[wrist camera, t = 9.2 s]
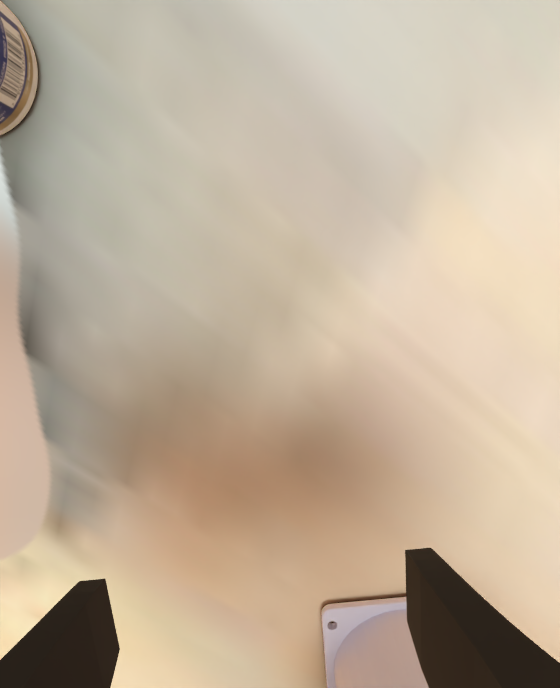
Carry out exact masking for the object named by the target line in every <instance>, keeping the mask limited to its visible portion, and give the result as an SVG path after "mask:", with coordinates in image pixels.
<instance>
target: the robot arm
mask: <svg viewBox="0 0 560 688" xmlns="http://www.w3.org/2000/svg"><path fill="white" fill-rule="evenodd" d="M405 556H406V597H398V598H387V599H377V600H366V601H356V602H345V603H335V604H328V605H326V606H324V607H323V609H322V611H321V616H322V630H323V643H324V656H325V670H326V683H327V688H560V663H559V662H558V661H556V660H555V659H554V658H552V657H551V656H550V655H549V654H547V653H546V652H545V651H544V650H543V649H541V648H540V647H539V646H538V645H536V644H535V643H534V642H533V641H532V640H530V639H529V638H528V637H527V636H526V635H524V634H523V633H522V632H521V631H520V630H519V629H517V628H516V627H515V626H514V625H513V624H512V623H510V622H509V621H508V620H507V619H506V618H505V617H504V616H503V615H501V614H500V613H499V612H498V611H497V610H496V609H495V608H494V607H493V606H491V605H490V604H489V603H488V602H487V601H486V600H485V599H484V598H483V597H482V596H481V595H479V594H478V593H477V592H476V591H475V590H474V589H473V588H472V587H471V586H470V585H469V584H468V583H467V582H466V581H465V580H464V579H463V578H462V577H460V576H459V575H458V574H457V573H456V572H455V571H454V570H453V569H452V568H451V567H450V566H449V565H448V564H447V563H446V562H445V561H444V560H443V559H442V558H441V557H440V556H439V555H438V554H437V553H436V552H435V551H434V550H433V549H431V548H423V549H413V550H405ZM331 621H334V623H329V622H331ZM119 650H120V648H119V643H118V639H117V634H116V629H115V624H114V619H113V614H112V609H111V604H110V600H109V595H108V590H107V585H106V580H105V579H98V580H88V581H80V582H78V583H77V584H76V585H75V586H74V587H73V588H72V589H71V590H70V591H69V592H68V593H67V594H66V595H65V596H64V597H63V598H62V599H61V600H60V601H59V602H58V603H57V604H56V605H55V606H54V607H53V608H52V609H51V610H50V611H49V612H48V613H47V614H46V615H45V616H44V617H43V618H42V619H41V620H40V621H39V622H38V623H37V624H36V625H35V626H34V627H33V628H32V629H31V630H30V631H29V632H28V633H27V634H26V635H25V636H24V637H23V638H22V639H21V640H20V641H19V642H18V643H17V644H16V645H15V646H14V647H13V648H12V649H11V650H10V651H9V652H8V653H7V654H6V655H5V656H4V657H3V658H2V659H1V660H0V688H110V686H111V682H112V679H113V675H114V671H115V666H116V662H117V658H118V654H119Z"/></svg>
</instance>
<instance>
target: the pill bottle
mask: <svg viewBox="0 0 560 688" xmlns="http://www.w3.org/2000/svg"><path fill="white" fill-rule="evenodd" d="M37 83H38V69H37V61H36V57H35V53H34V50H33V47H32V44H31V41H30V39H29V37H28V35H27V33H26V31H25V29H24V28H23V26H22V24H21V23H20V21H19V20H18V19H17V17H16V16H15V15H14V14H13V13H12V12H11V10H10V9H9V8H8V7H7V6H6V5H5V4H4V3H3V2H2V1H1V0H0V135H2V134H4V133H6V132H8V131H10V130H11V129H13V128H14V127H15V126H16V125H18V124H19V123H20V122H21V121H22V119H23V118H24V117H25V116H26V114H27V113H28V111H29V110H30V107H31V105H32V103H33V100H34V98H35V94H36V90H37Z"/></svg>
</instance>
